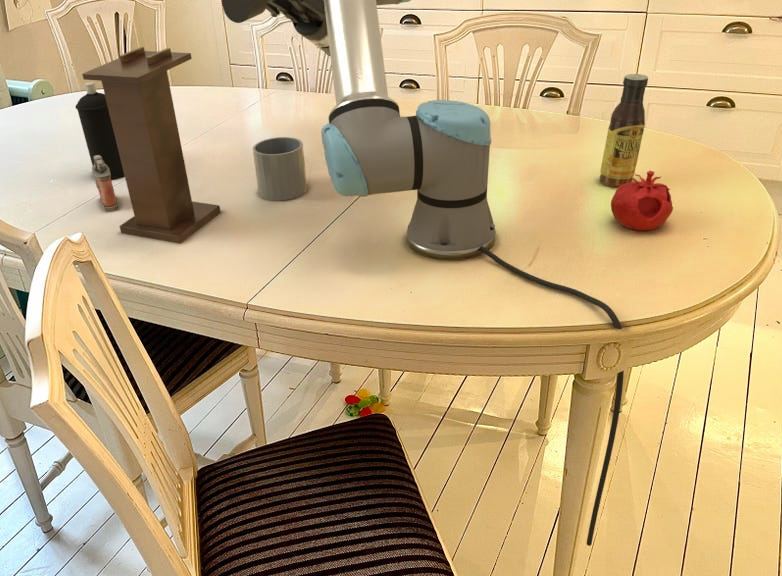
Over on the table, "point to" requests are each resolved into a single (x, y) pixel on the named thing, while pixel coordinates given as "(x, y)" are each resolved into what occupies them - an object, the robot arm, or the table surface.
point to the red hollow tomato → (642, 203)
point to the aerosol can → (99, 130)
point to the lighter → (104, 184)
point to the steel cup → (280, 168)
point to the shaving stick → (244, 9)
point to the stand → (151, 145)
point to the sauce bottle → (625, 133)
